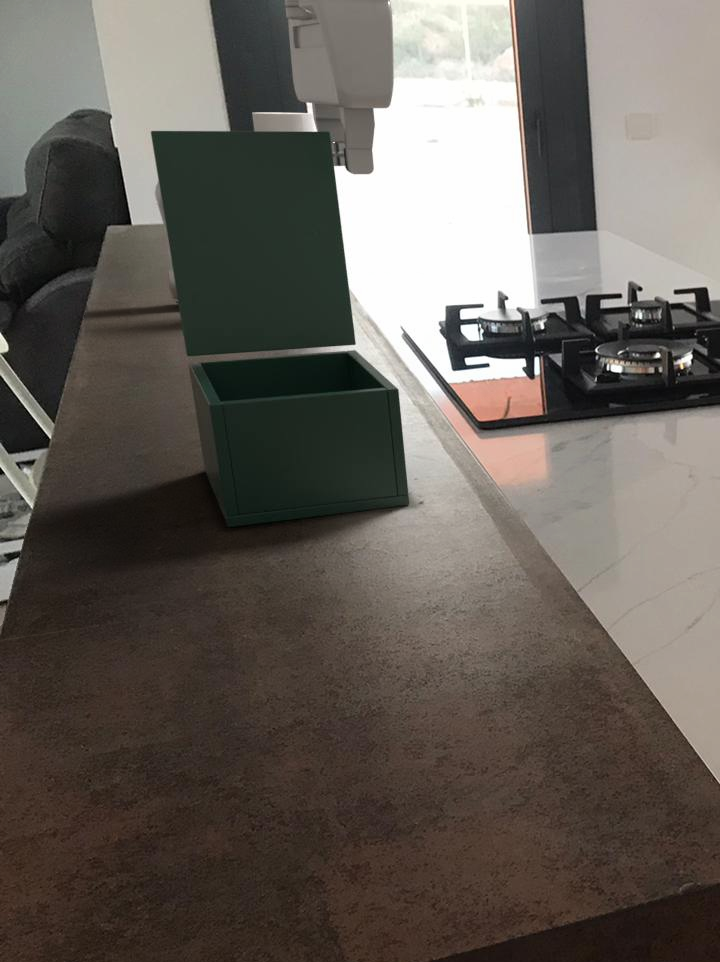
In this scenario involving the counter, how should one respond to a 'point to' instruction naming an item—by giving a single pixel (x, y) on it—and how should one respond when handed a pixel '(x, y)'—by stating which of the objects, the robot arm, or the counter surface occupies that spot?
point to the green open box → (299, 436)
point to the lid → (254, 240)
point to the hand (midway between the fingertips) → (347, 169)
